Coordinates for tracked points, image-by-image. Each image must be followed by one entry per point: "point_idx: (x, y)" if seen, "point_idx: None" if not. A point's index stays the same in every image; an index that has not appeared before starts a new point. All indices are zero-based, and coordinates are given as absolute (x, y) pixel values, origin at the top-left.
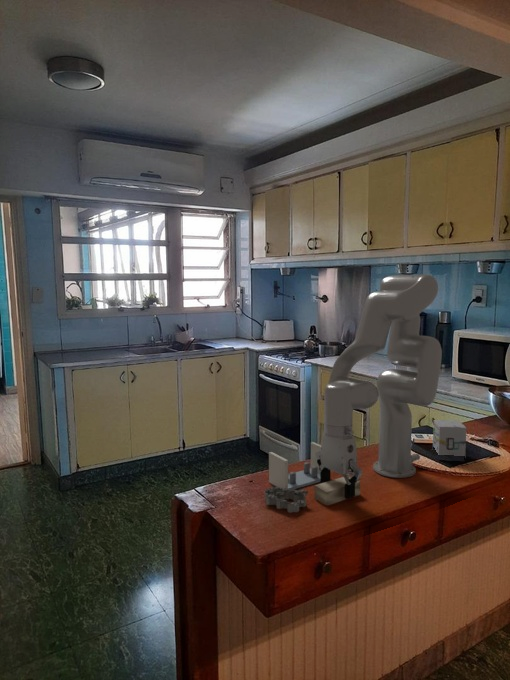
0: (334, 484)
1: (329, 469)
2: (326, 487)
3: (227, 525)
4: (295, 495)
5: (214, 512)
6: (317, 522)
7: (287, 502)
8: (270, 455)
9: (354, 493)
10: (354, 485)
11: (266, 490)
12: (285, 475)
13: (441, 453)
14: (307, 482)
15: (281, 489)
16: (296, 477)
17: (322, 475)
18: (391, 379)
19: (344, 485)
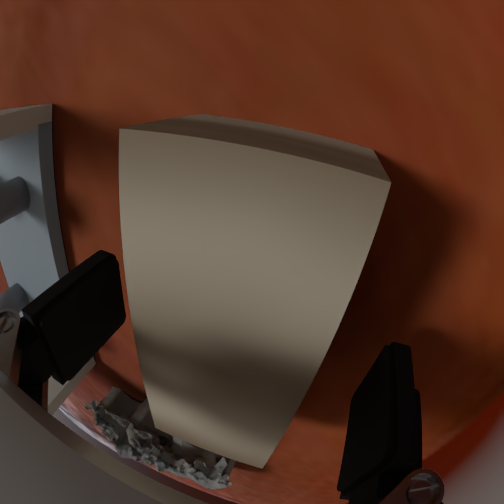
0: (210, 396)
1: (23, 311)
2: (214, 436)
3: (193, 486)
4: (164, 435)
5: (139, 461)
6: (332, 473)
7: (203, 477)
8: None
9: (418, 395)
10: (419, 462)
11: (115, 446)
12: (55, 409)
13: None
14: (55, 274)
15: (101, 403)
16: (16, 257)
17: (80, 369)
18: None
19: (287, 385)
